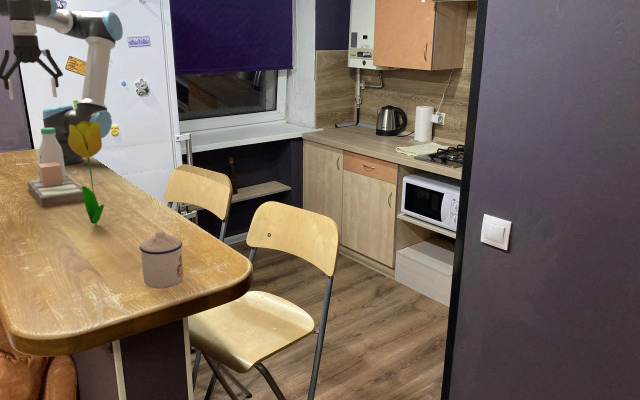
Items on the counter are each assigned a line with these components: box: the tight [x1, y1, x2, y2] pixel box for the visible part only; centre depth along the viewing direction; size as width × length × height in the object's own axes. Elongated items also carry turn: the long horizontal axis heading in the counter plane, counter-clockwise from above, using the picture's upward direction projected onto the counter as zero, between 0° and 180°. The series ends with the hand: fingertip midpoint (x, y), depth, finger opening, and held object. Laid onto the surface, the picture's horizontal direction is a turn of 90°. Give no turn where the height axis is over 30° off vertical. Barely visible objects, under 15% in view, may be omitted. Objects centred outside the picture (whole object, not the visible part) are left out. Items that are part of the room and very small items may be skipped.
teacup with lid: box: [139, 230, 184, 289], centre depth 120 cm, size 12×9×12 cm
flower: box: [68, 121, 105, 226], centre depth 149 cm, size 9×8×30 cm
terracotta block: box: [37, 162, 63, 185], centre depth 184 cm, size 6×6×6 cm
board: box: [27, 175, 84, 208], centre depth 181 cm, size 24×13×3 cm, turn 37°
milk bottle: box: [38, 127, 67, 177], centre depth 192 cm, size 8×8×20 cm
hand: (33, 98), depth 186 cm, fingers open, 13 cm apart
